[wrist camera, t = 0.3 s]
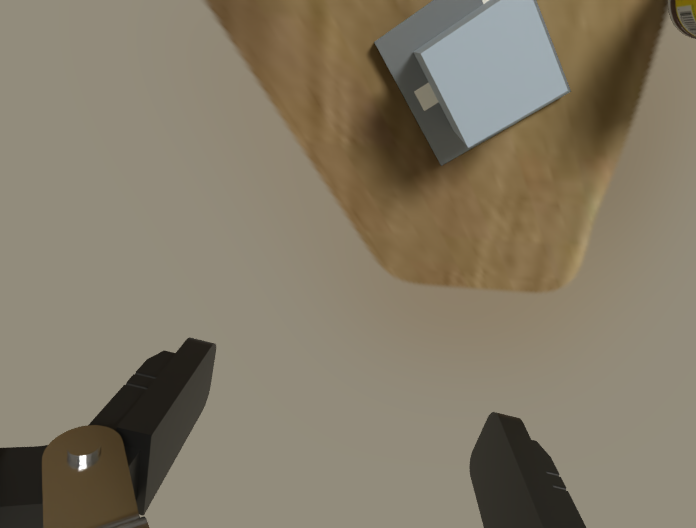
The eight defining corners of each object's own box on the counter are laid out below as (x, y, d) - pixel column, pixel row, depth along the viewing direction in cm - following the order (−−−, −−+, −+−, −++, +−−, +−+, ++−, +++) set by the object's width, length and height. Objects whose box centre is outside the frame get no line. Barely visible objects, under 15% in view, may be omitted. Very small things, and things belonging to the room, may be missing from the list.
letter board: (374, 42, 27) (374, 42, 26) (510, -55, 24) (514, -57, 23) (439, 163, 30) (441, 166, 29) (566, 90, 27) (571, 91, 27)
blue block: (413, 51, 26) (420, 53, 21) (497, -6, 25) (526, -18, 20) (452, 129, 28) (468, 147, 23) (533, 81, 26) (567, 90, 22)
